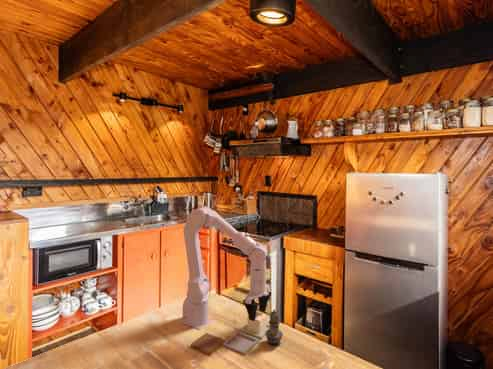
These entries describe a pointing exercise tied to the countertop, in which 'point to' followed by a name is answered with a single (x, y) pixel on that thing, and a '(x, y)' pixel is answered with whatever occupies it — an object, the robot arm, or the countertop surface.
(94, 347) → the countertop surface
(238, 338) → the tray grey
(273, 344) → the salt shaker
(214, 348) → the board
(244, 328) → the tray sage
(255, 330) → the letter cube
